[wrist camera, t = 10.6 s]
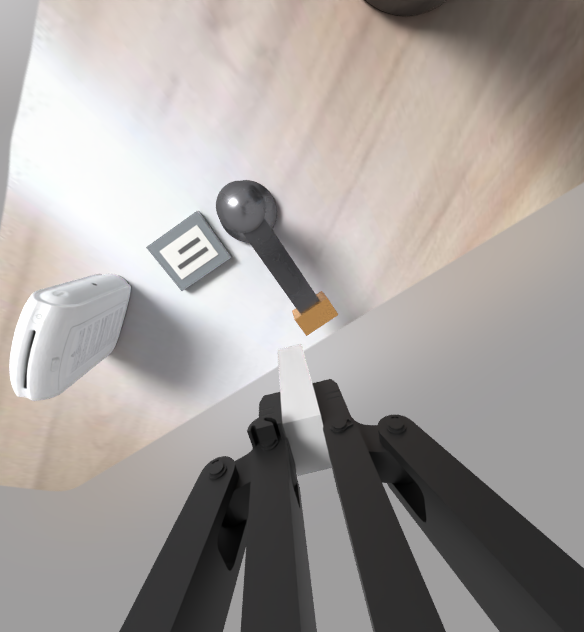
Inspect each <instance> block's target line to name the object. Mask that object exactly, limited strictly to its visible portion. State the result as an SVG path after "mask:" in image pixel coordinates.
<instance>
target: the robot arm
mask: <svg viewBox="0 0 584 632" xmlns="http://www.w3.org/2000/svg"><path fill="white" fill-rule="evenodd" d="M366 1H367V2H368V3H369V4H371V5H372V6H374V7H376V8H377V9H379V10H381V11H383V12H386V13H389V14H393V15H399V16H411V15H417V14H421V13H424V12H427V11H430V10H432V9H434V8H436V7H437V6H439V5H441V4H442V3H444V2H445V1H446V0H366ZM278 365H279V380H280V392H278V393H273V394H270V395H265V396H263V398H262V400H261V401H260V404H259V418H257V419H256V420H255V421H253V422H252V423H251V424H250V426H249V427H248V430H247V432H248V435H249V438H250V440H251V443H252V446H253V450H252V451H251V452H249V453H248V454H247V455H245V456H244V457H242V458H240V459H238V460H236V461H234V460H233V459H232V458H230V457H226V456H223V457H218V458H216V459H214V460H212V461H211V462H210V463H208V464H207V465H206V466H205V468H204V469H203V470H202V472H201V474H200V476H199V477H198V479H197V481H196V483H195V486H194V487H193V489H192V491H191V493H190V495H189V497H188V499H187V501H186V503H185V505H184V507H183V509H182V511H181V513H180V515H179V516H178V519H177V520H176V522H175V524H174V526H173V528H172V530H171V532H170V534H169V536H168V538H167V540H166V542H165V544H164V546H163V548H162V550H161V552H160V553H159V555H158V557H157V559H156V561H155V563H154V565H153V568H152V569H151V571H150V573H149V575H148V577H147V579H146V581H145V583H144V585H143V587H142V589H141V590H140V592H139V594H138V596H137V598H136V600H135V602H134V604H133V606H132V608H131V610H130V612H129V614H128V616H127V618H126V620H125V622H124V624H123V626H122V628H121V630H120V631H119V632H223V629H224V625H225V621H226V618H227V614H228V610H229V607H230V603H231V599H232V596H233V592H234V588H235V585H236V581H237V577H238V573H239V570H240V566H241V563H242V559H243V555H244V552H245V548H246V559H245V576H244V591H243V605H242V620H241V632H317V629H316V622H315V613H314V604H313V596H312V587H311V579H310V570H309V562H308V554H307V546H306V537H305V529H304V520H303V513H302V503H301V495H300V487H299V484H298V481H297V475H298V476H299V475H303V474H307V473H312V472H316V471H320V470H324V469H328V468H332V469H333V473H334V478H335V482H336V486H337V490H338V494H339V498H340V502H341V505H342V510H343V514H344V517H345V521H346V525H347V529H348V533H349V537H350V541H351V545H352V548H353V553H354V557H355V561H356V565H357V568H358V573H359V577H360V581H361V585H362V589H363V593H364V596H365V601H366V604H367V608H368V612H369V616H370V620H371V624H372V628H373V632H446V631H445V629H444V627H443V624H442V622H441V619H440V617H439V615H438V613H437V610H436V608H435V605H434V603H433V601H432V598H431V596H430V594H429V591H428V589H427V587H426V585H425V582H424V580H423V578H422V576H421V573H420V571H419V568H418V566H417V563H416V561H415V559H414V557H413V554H412V552H411V549H410V547H409V545H408V542H407V540H406V538H405V536H404V533H403V531H402V529H401V526H400V524H399V522H398V519H397V517H396V515H395V512H394V510H393V507H392V505H391V503H390V501H389V498H388V496H387V494H386V491H385V489H384V487H383V484H382V482H384V483H387V484H388V486H389V487H390V489H391V490H392V491H393V493H394V494H395V495H396V497H397V498H398V499H399V501H400V502H401V503H402V504H403V506H404V507H405V508H406V510H407V511H408V512H409V514H410V515H411V516H412V517H413V519H414V520H415V521H416V523H417V524H418V525H419V527H420V528H421V529H422V531H423V532H424V533H425V535H426V536H427V537H428V538H429V540H430V541H431V542H432V544H433V545H434V546H435V547H436V549H437V550H438V551H439V553H440V554H441V555H442V556H443V558H444V559H445V561H446V562H447V563H448V564H449V566H450V567H451V568H452V570H453V571H454V572H455V574H456V575H457V576H458V578H459V579H460V580H461V582H462V583H463V584H464V586H465V587H466V588H467V589H468V591H469V592H470V593H471V595H472V596H473V597H474V599H475V600H476V601H477V603H478V604H479V605H480V606H481V608H482V609H483V610H484V612H485V613H486V614H487V615H488V617H489V618H490V619H491V621H492V622H493V623H494V625H495V626H496V627H497V629H498V630H499V631H500V632H584V568H583V567H581V566H580V565H579V564H578V563H577V562H576V561H575V560H573V559H572V558H571V557H570V556H569V555H567V554H566V553H565V552H564V551H563V550H562V549H561V548H559V547H558V546H557V545H556V544H555V543H553V542H552V541H551V540H550V539H549V538H548V537H547V536H545V535H544V534H543V533H542V532H541V531H540V530H538V529H537V528H536V527H535V526H534V525H532V524H531V523H530V522H529V521H528V520H527V519H526V518H524V517H523V516H522V515H521V514H520V513H519V512H517V511H516V510H515V509H514V508H513V507H512V506H510V505H509V504H508V503H507V502H505V501H504V500H503V499H502V498H501V497H500V496H499V495H498V494H496V493H495V492H494V491H493V490H492V489H491V488H489V487H488V486H487V485H486V484H485V483H484V482H482V481H481V480H480V479H479V478H478V477H477V476H475V475H474V474H473V473H472V472H471V471H470V470H468V469H467V468H466V467H465V466H464V465H463V464H462V463H460V462H459V461H458V460H457V459H456V458H455V457H453V456H452V455H451V454H450V453H449V452H448V451H446V450H445V449H444V448H443V447H442V446H441V445H439V444H438V443H437V442H436V441H435V440H434V439H432V438H431V437H430V436H429V435H428V434H427V433H425V432H424V431H423V430H422V429H421V428H420V427H418V426H417V425H416V424H415V423H414V422H413V421H411V420H410V419H408V418H407V417H404V416H401V415H389V416H385V417H384V418H382V419H381V420H380V421H379V423H378V425H363V424H360V423H358V422H356V421H355V420H354V419H353V418H352V417H351V415H350V413H349V411H348V408H347V406H346V404H345V401H344V399H343V397H342V394H341V392H340V389H339V387H338V385H337V383H335V382H334V381H333V380H332V379H329V380H324V381H321V382H316V383H312V381H311V377H310V373H309V370H308V366H307V363H306V358H305V355H304V351H303V347H302V344H299V345H295V346H290V347H286V348H282V349H278ZM296 472H297V474H296Z"/></svg>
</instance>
